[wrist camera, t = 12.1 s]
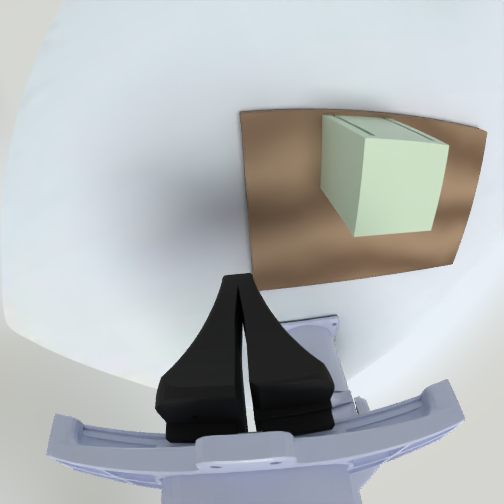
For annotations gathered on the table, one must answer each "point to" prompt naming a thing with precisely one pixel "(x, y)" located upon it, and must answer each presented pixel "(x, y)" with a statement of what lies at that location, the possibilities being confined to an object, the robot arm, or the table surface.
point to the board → (324, 214)
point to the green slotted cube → (381, 174)
